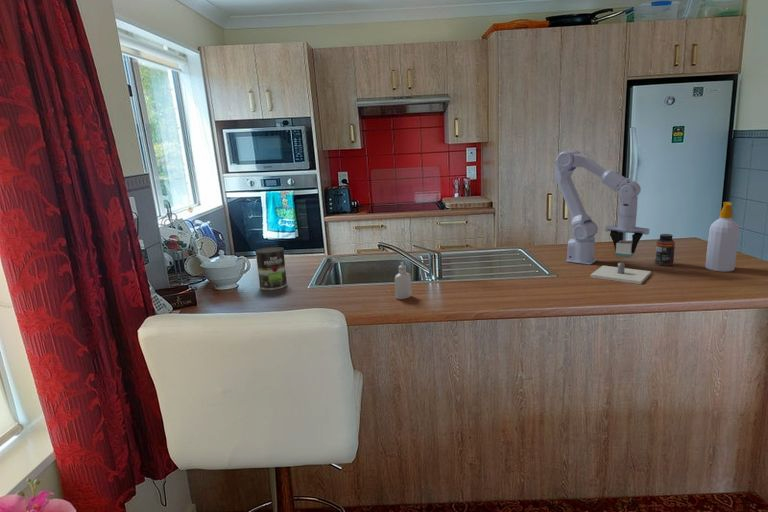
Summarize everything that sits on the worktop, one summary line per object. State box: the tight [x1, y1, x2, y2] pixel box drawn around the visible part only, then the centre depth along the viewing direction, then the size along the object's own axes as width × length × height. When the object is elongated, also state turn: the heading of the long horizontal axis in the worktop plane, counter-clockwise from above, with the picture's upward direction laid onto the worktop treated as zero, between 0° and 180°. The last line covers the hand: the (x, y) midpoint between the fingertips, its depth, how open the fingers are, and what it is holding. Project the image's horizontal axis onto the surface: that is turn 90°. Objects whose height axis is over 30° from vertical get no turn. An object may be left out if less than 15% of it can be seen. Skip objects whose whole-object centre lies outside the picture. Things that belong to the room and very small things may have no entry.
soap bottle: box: [704, 201, 740, 273], centre depth 163 cm, size 9×9×24 cm
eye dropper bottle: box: [394, 261, 412, 300], centre depth 153 cm, size 4×6×12 cm
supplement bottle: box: [654, 233, 676, 267], centre depth 174 cm, size 6×6×11 cm
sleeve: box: [614, 240, 635, 259], centre depth 173 cm, size 5×5×5 cm
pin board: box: [590, 262, 652, 285], centre depth 164 cm, size 16×14×4 cm
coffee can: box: [255, 246, 288, 291], centre depth 174 cm, size 10×10×14 cm
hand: (624, 251), depth 173 cm, fingers closed on sleeve, 5 cm apart
